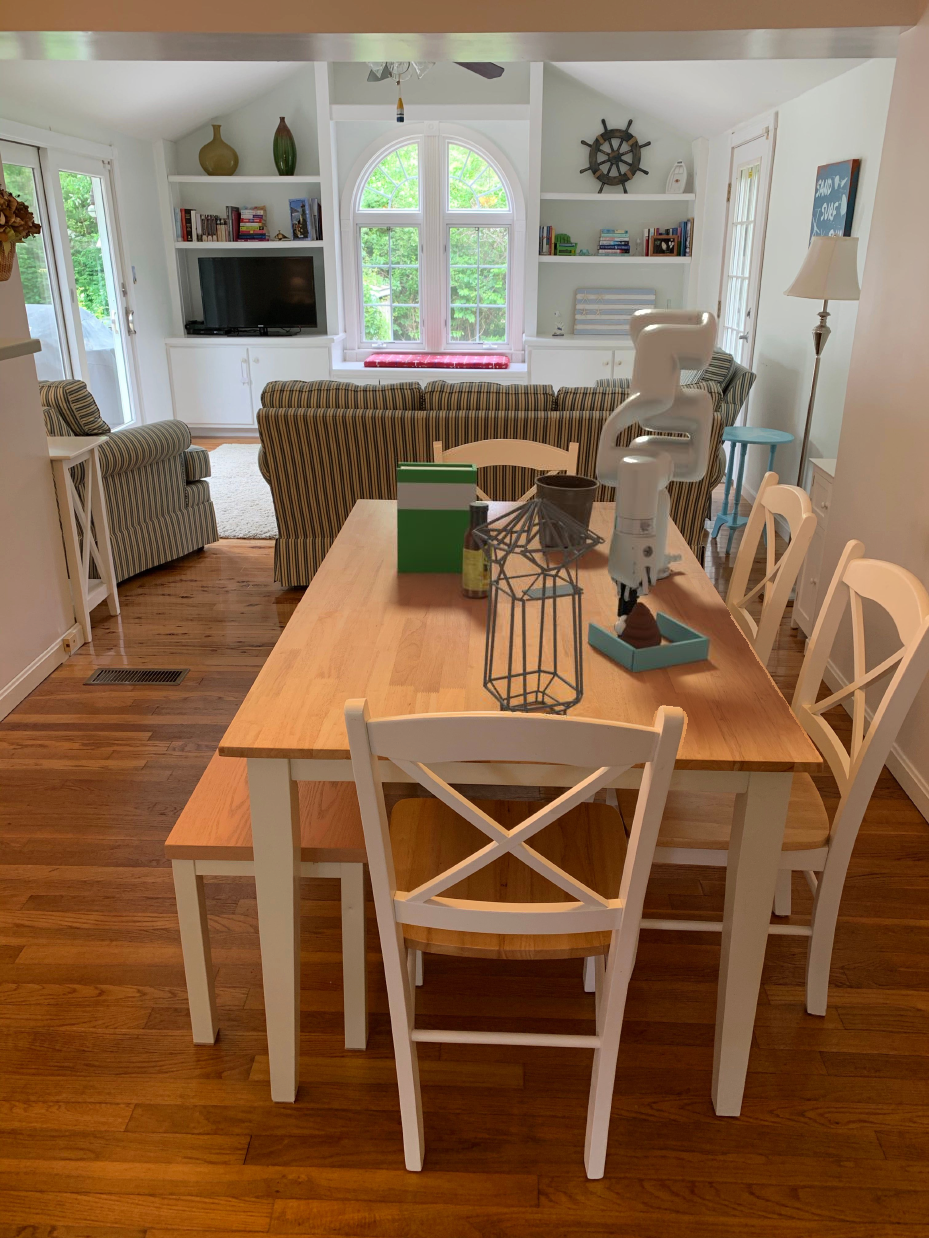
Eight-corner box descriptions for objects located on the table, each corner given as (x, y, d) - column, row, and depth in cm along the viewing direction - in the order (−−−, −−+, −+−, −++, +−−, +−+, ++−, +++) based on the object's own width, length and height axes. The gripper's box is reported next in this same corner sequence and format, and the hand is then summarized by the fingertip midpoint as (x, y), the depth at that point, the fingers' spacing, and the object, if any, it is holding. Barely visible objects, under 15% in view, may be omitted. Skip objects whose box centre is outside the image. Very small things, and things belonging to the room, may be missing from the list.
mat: (569, 585, 209) (569, 583, 209) (583, 593, 204) (583, 592, 203) (521, 591, 204) (521, 590, 204) (535, 600, 199) (535, 598, 199)
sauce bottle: (488, 600, 198) (491, 508, 191) (459, 597, 199) (461, 506, 192) (493, 590, 204) (496, 501, 197) (465, 588, 205) (467, 499, 198)
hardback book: (397, 572, 214) (396, 469, 206) (398, 563, 221) (398, 462, 213) (474, 573, 215) (476, 470, 206) (473, 564, 222) (475, 463, 213)
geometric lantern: (510, 747, 138) (513, 516, 126) (467, 705, 152) (466, 493, 140) (601, 728, 144) (613, 505, 132) (552, 689, 158) (559, 484, 146)
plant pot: (605, 541, 243) (610, 479, 237) (578, 555, 230) (582, 491, 224) (549, 530, 251) (553, 471, 245) (520, 544, 238) (523, 482, 232)
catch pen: (658, 630, 184) (660, 611, 182) (707, 659, 171) (710, 638, 169) (587, 642, 177) (589, 622, 176) (633, 672, 164) (635, 651, 163)
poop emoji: (654, 661, 170) (658, 612, 166) (608, 653, 173) (612, 605, 169) (665, 642, 178) (670, 595, 175) (621, 634, 181) (625, 589, 178)
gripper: (675, 532, 167) (665, 628, 174) (628, 512, 180) (621, 602, 187) (640, 536, 164) (632, 633, 171) (595, 516, 177) (588, 607, 184)
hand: (626, 617), depth 179 cm, fingers closed
